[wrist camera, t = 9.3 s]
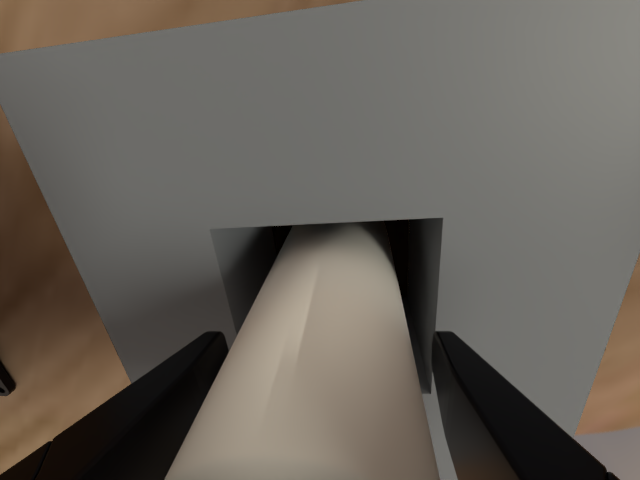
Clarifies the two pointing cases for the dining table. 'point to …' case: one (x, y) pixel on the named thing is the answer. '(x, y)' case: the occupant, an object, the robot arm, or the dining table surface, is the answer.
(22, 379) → the dining table surface
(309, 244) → the peg
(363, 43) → the socket block
